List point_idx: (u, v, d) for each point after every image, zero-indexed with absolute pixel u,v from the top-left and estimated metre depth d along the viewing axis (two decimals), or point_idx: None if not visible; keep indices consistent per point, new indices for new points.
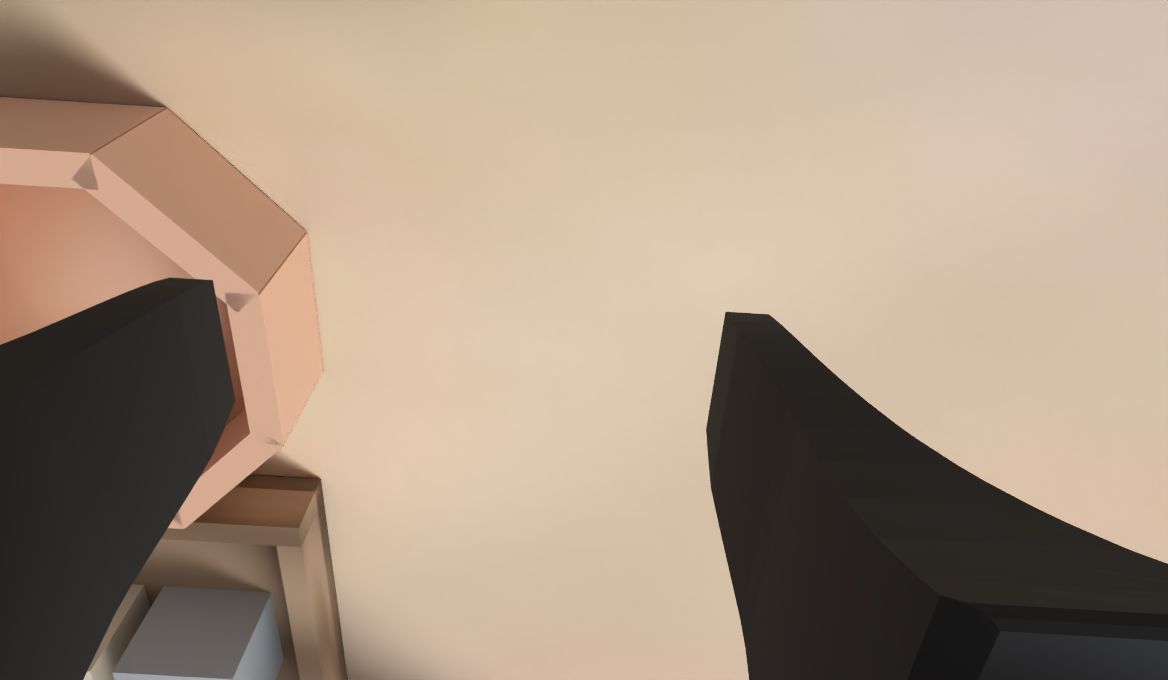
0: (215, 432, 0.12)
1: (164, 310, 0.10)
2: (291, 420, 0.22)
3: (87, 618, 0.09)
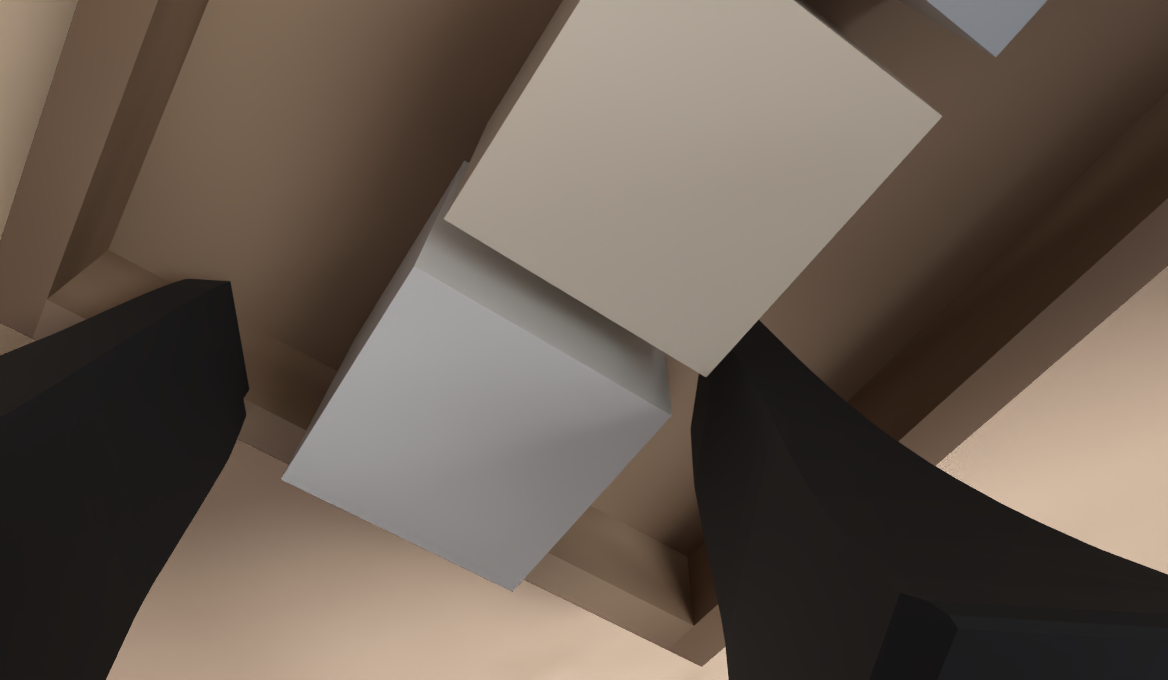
0: (232, 433, 0.12)
1: (184, 311, 0.10)
2: None
3: (109, 619, 0.09)
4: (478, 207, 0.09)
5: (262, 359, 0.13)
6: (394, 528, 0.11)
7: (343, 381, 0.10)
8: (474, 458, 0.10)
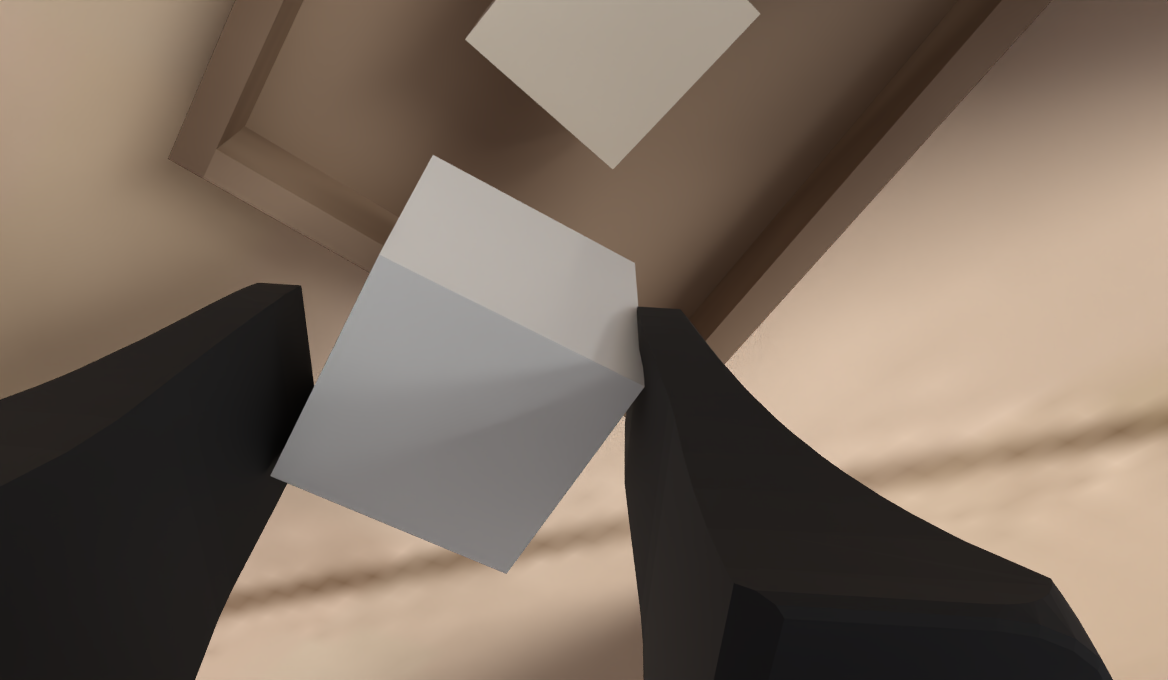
0: None
1: (263, 316, 0.10)
2: None
3: (196, 624, 0.09)
4: (487, 34, 0.14)
5: (351, 203, 0.19)
6: (384, 517, 0.11)
7: (321, 373, 0.10)
8: (455, 441, 0.10)
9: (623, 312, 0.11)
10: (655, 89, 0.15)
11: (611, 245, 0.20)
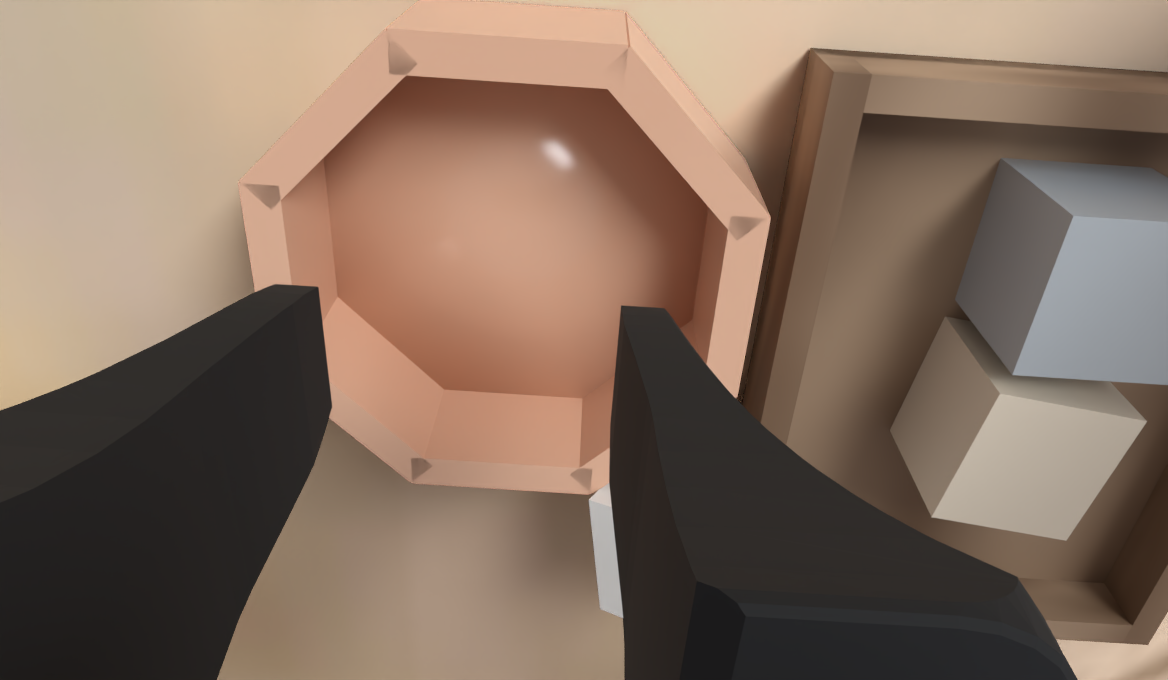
0: (317, 438, 0.12)
1: (283, 317, 0.10)
2: (613, 35, 0.16)
3: (218, 626, 0.09)
4: (946, 508, 0.20)
5: None
6: None
7: None
8: None
9: None
10: (1081, 488, 0.19)
11: None
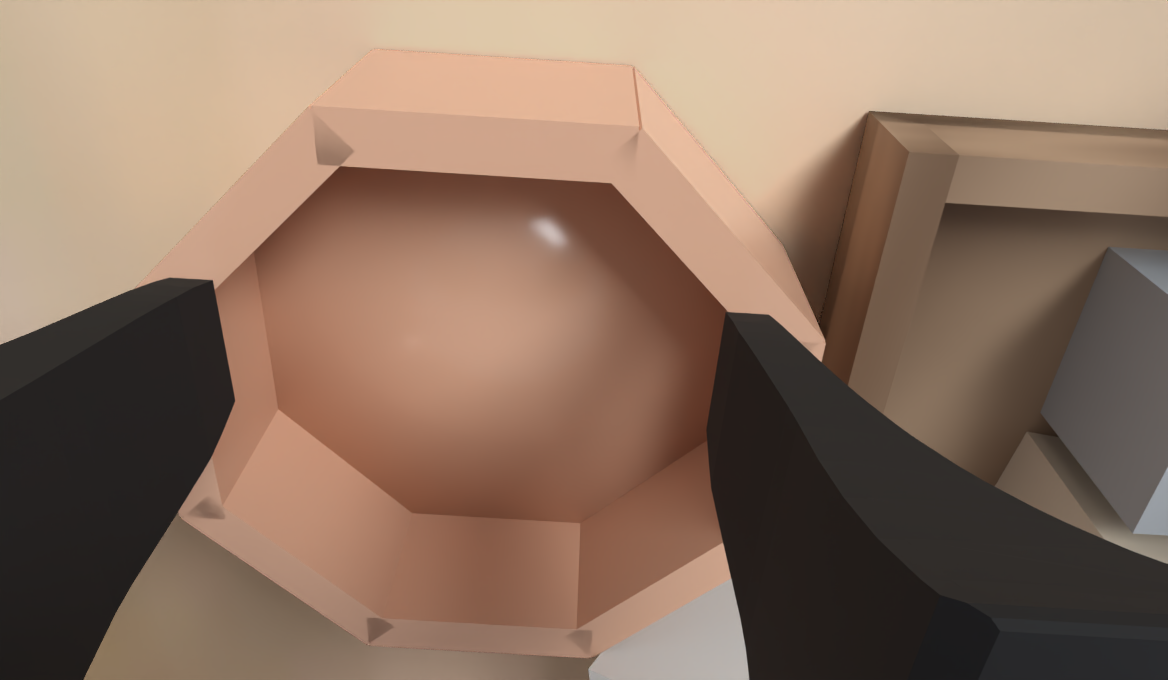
0: (214, 432, 0.12)
1: (164, 310, 0.10)
2: (619, 110, 0.12)
3: (87, 618, 0.09)
4: None
5: None
6: None
7: None
8: None
9: None
10: None
11: None
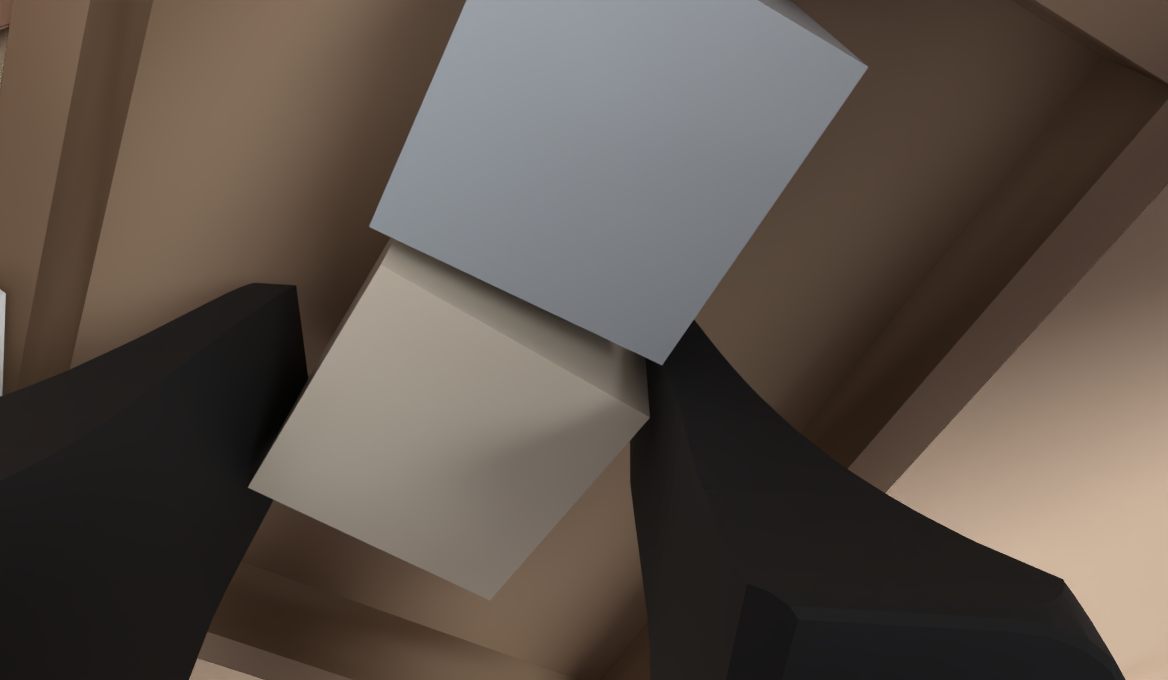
0: None
1: (258, 316, 0.10)
2: None
3: (190, 624, 0.09)
4: (275, 479, 0.10)
5: None
6: None
7: None
8: None
9: None
10: (523, 513, 0.10)
11: (521, 572, 0.16)
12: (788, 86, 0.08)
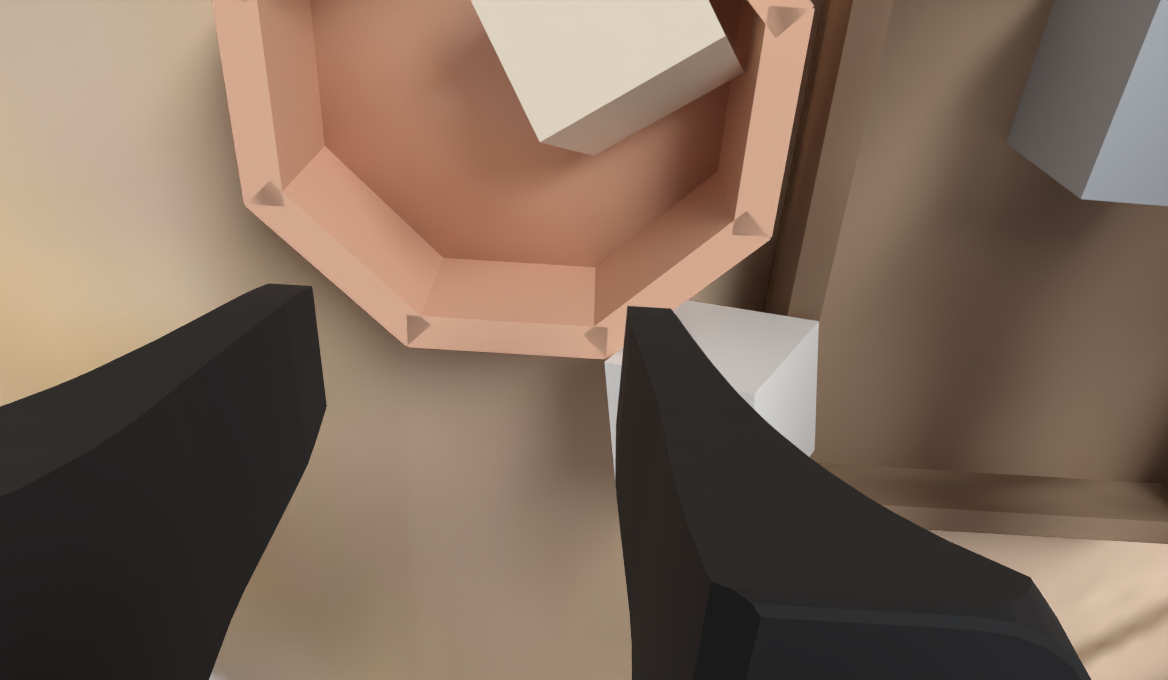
0: (311, 438, 0.12)
1: (276, 317, 0.10)
2: None
3: (210, 625, 0.09)
4: None
5: (873, 480, 0.23)
6: None
7: None
8: None
9: None
10: None
11: (1094, 413, 0.22)
12: None
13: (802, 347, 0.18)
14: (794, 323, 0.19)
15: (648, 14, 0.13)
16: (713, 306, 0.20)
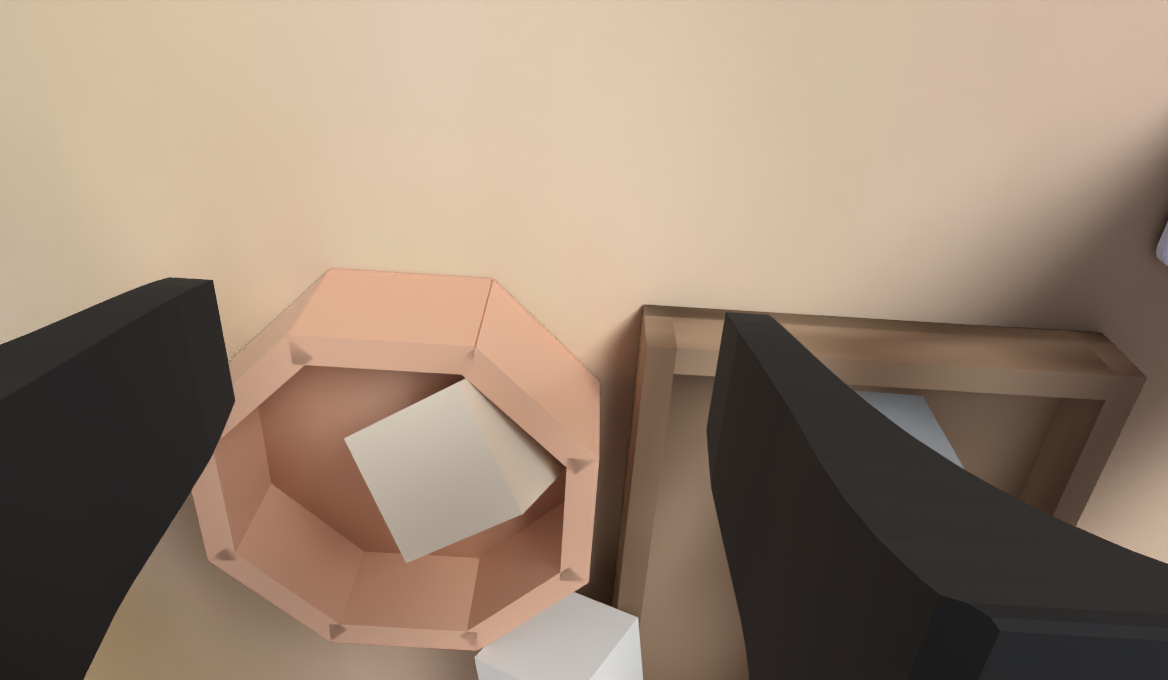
0: (215, 432, 0.12)
1: (164, 310, 0.10)
2: (467, 330, 0.20)
3: (87, 618, 0.09)
4: None
5: None
6: None
7: None
8: None
9: None
10: None
11: None
12: None
13: (621, 644, 0.25)
14: (620, 619, 0.25)
15: (473, 493, 0.20)
16: None
